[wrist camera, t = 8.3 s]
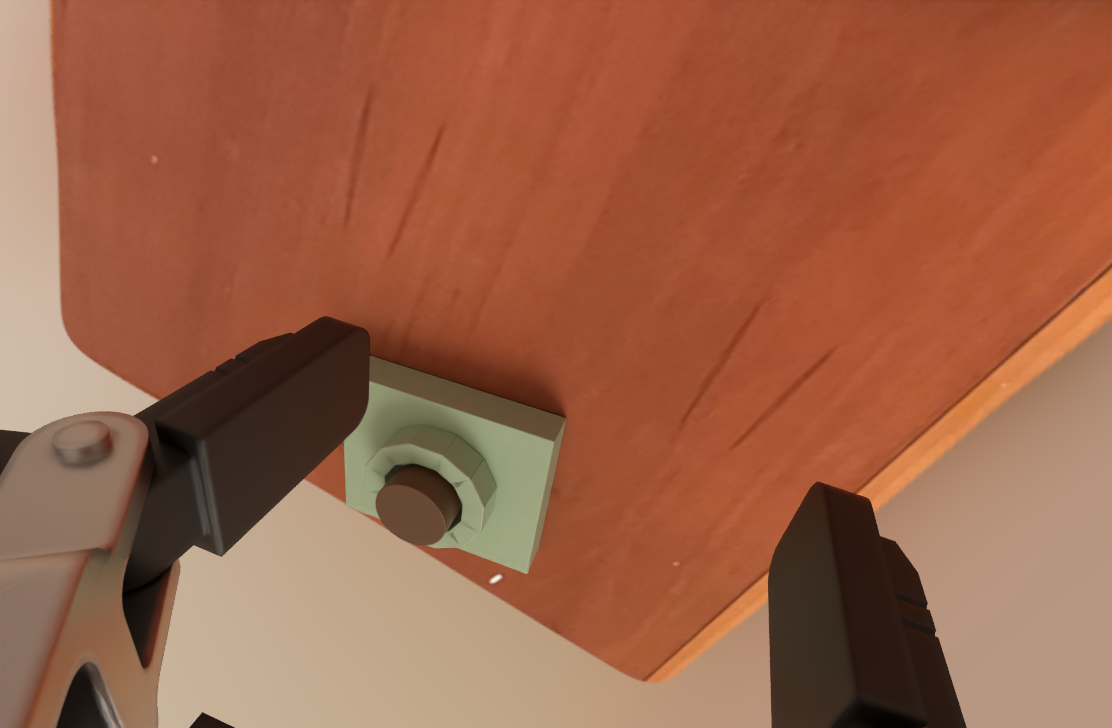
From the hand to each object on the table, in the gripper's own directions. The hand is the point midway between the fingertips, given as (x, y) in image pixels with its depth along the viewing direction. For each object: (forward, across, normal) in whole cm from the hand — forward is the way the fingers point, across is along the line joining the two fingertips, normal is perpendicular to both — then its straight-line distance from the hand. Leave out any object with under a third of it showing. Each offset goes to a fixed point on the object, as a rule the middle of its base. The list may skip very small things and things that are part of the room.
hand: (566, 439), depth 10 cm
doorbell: (+16, +8, +17) cm, 25 cm away
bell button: (+13, +8, +17) cm, 23 cm away
